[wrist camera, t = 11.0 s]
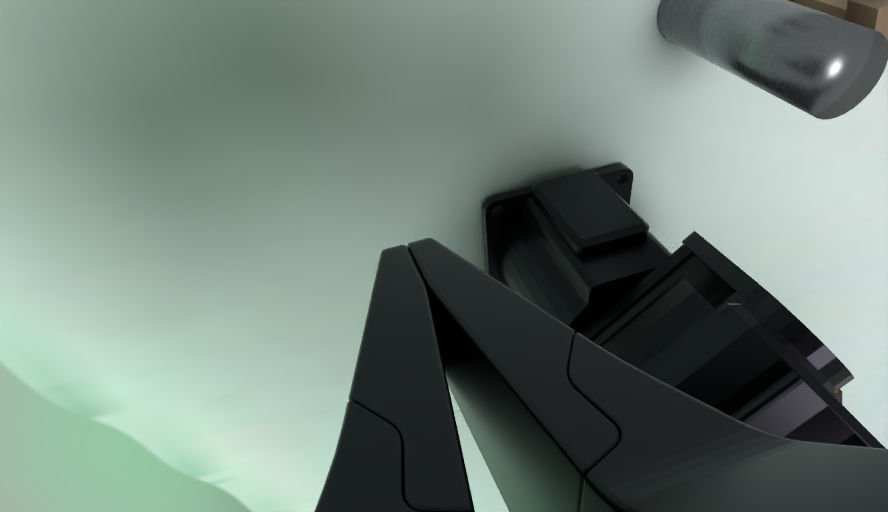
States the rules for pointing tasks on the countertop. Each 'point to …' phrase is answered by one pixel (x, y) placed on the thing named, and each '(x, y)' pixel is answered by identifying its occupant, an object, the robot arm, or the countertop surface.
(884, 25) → the brown long plank slab
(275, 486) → the countertop surface
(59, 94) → the countertop surface
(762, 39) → the hinge post
